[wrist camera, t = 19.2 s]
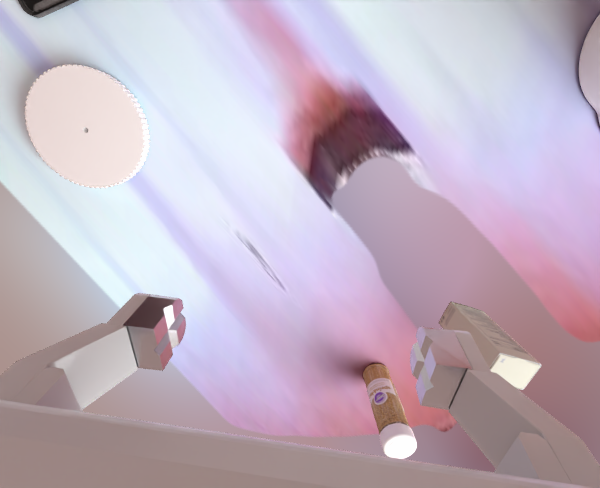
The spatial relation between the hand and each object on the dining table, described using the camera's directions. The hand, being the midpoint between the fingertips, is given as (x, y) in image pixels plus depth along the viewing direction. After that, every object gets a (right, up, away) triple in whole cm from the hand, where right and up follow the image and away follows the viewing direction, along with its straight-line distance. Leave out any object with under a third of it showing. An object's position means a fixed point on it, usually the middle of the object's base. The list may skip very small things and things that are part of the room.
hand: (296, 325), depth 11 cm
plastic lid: (-26, +17, +29) cm, 43 cm away
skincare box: (+26, -9, +39) cm, 47 cm away
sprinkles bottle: (+13, -19, +42) cm, 48 cm away
